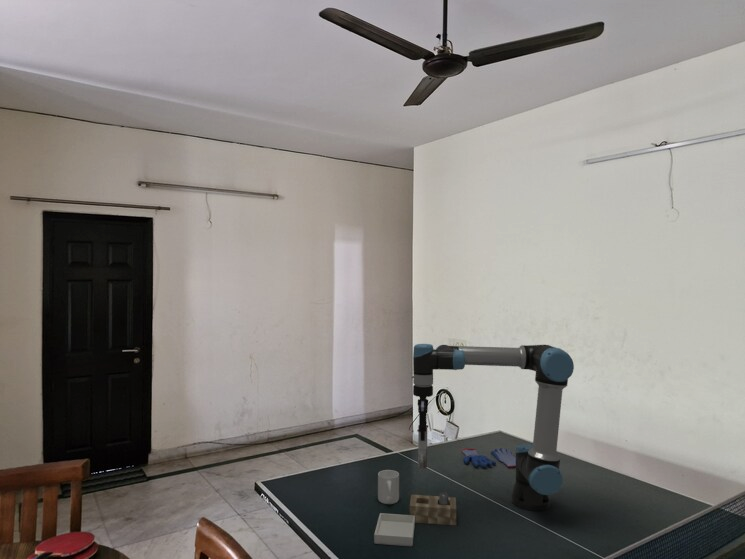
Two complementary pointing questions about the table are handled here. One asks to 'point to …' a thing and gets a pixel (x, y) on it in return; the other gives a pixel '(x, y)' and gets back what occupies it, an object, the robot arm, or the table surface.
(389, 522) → the tray
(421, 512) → the block
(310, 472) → the table surface
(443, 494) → the short pin
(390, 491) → the mug
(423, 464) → the glass vial with cap
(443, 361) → the robot arm
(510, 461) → the pair of gloves
